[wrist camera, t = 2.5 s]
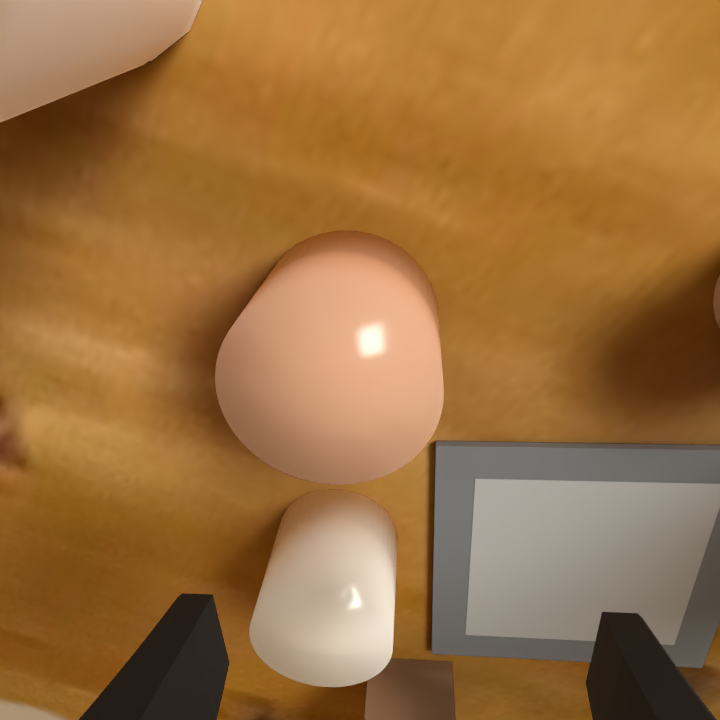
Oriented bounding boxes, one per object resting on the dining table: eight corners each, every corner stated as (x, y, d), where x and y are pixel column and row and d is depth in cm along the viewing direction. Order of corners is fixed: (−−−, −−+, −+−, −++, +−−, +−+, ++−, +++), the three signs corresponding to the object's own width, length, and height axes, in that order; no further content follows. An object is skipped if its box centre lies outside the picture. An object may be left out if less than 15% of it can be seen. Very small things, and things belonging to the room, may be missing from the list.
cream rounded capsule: (396, 490, 22) (391, 594, 18) (398, 579, 25) (394, 690, 20) (273, 487, 23) (239, 588, 19) (286, 575, 25) (259, 683, 21)
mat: (778, 445, 20) (784, 451, 20) (699, 661, 26) (702, 668, 25) (435, 441, 21) (435, 445, 21) (431, 647, 27) (431, 654, 26)
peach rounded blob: (439, 227, 17) (446, 284, 13) (436, 394, 20) (441, 487, 16) (250, 232, 18) (195, 287, 14) (273, 393, 21) (233, 482, 16)
